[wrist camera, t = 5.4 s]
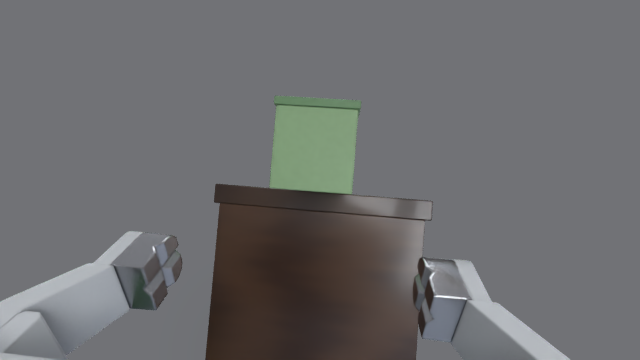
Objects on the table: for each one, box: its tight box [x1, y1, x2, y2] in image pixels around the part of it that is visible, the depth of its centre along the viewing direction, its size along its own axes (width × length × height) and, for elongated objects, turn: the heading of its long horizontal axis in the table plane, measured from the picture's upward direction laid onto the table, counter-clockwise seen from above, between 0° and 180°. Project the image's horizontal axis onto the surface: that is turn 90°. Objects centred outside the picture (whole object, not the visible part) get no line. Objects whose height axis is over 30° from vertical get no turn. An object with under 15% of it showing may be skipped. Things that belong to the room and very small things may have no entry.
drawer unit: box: [205, 184, 433, 360], centre depth 31 cm, size 17×17×26 cm
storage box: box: [269, 96, 361, 195], centre depth 26 cm, size 4×24×4 cm, turn 176°
